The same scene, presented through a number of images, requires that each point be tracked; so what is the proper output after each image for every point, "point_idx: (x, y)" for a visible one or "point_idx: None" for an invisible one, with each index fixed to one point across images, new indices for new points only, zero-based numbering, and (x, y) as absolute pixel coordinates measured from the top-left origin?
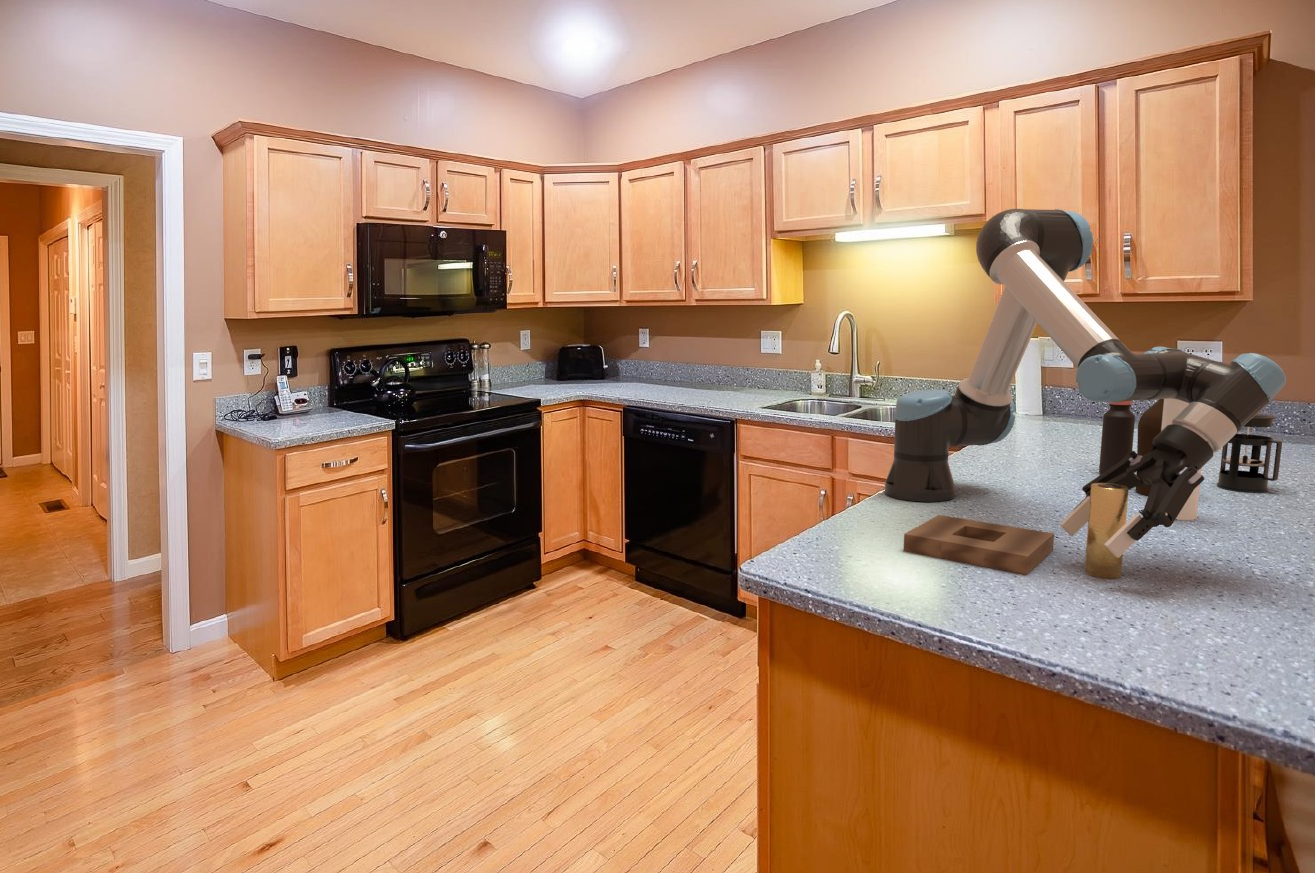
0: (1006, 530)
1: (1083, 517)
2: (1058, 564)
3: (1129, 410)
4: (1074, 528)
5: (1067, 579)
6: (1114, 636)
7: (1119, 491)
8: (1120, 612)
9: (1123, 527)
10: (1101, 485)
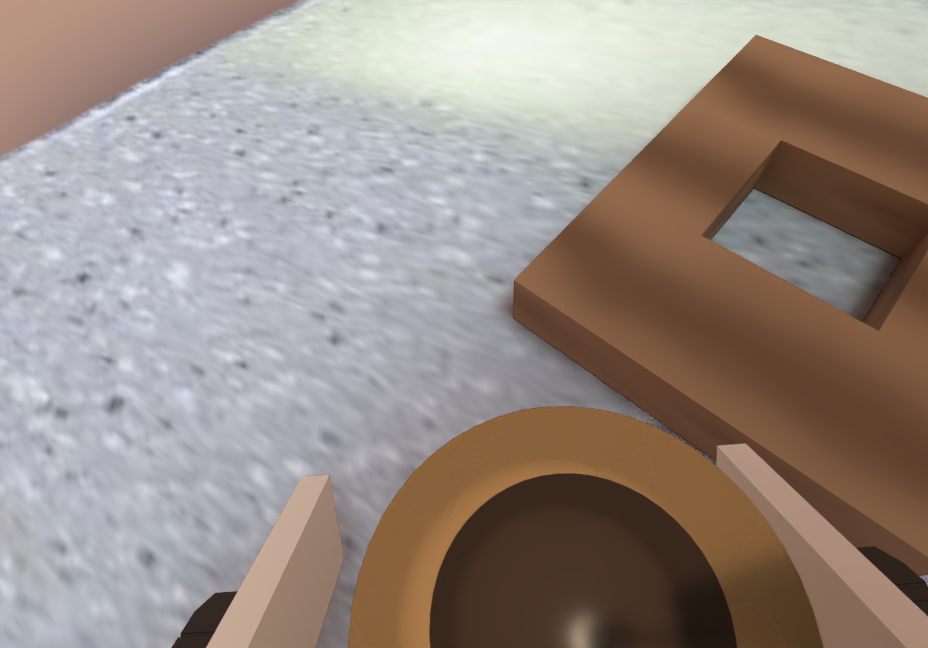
0: (925, 345)
1: None
2: None
3: None
4: None
5: (459, 430)
6: (27, 327)
7: (355, 622)
8: (145, 436)
9: (268, 572)
10: (595, 516)
